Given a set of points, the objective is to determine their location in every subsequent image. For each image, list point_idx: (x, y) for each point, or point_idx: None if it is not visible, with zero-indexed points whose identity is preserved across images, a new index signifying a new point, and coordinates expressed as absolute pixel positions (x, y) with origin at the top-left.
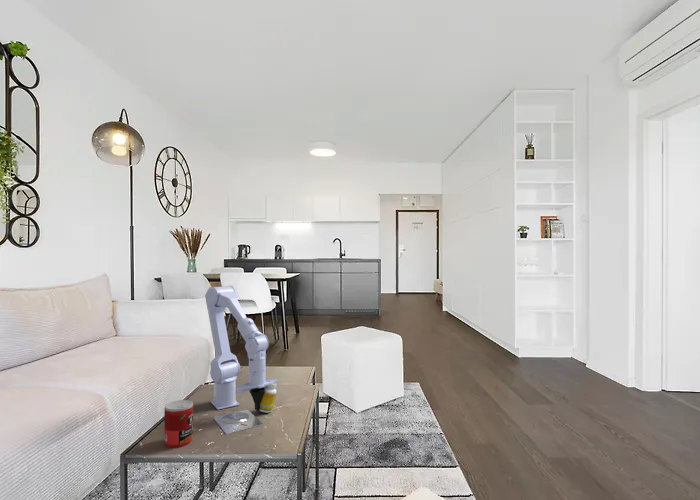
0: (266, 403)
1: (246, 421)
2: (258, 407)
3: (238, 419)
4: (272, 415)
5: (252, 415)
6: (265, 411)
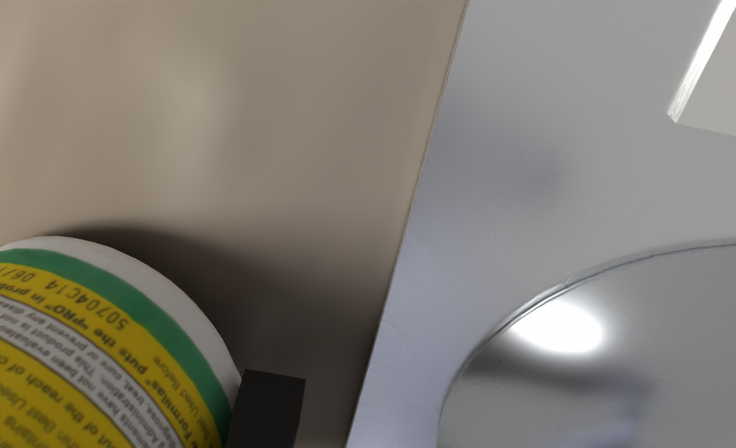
0: (14, 413)
1: (696, 192)
2: (260, 422)
3: (723, 359)
4: (34, 81)
5: (402, 340)
6: (135, 267)
